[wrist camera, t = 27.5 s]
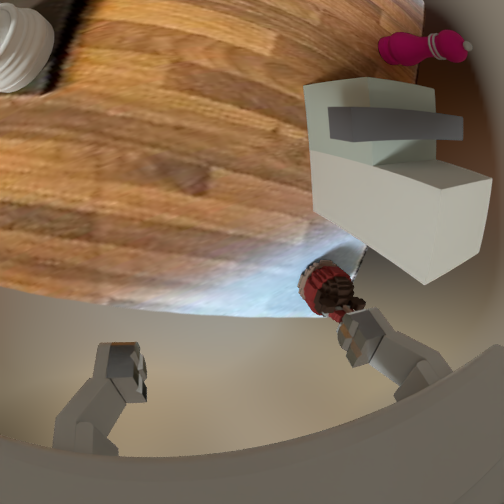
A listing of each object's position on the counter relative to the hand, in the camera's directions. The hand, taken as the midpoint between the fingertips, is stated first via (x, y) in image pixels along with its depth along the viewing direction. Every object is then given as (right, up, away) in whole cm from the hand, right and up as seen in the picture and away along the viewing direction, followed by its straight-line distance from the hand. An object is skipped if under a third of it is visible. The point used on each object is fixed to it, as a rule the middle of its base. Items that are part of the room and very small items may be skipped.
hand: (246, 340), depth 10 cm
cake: (+13, -2, +46) cm, 48 cm away
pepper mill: (+27, +43, +29) cm, 58 cm away
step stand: (+16, +22, +35) cm, 44 cm away
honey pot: (-34, +33, +11) cm, 49 cm away
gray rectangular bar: (+19, +20, +18) cm, 33 cm away
